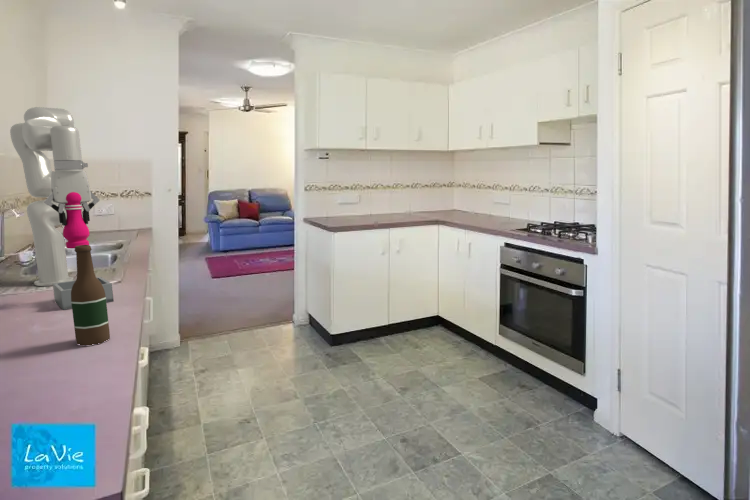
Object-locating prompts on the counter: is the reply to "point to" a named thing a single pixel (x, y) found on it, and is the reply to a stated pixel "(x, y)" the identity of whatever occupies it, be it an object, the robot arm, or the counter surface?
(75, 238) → the pepper mill
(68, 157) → the robot arm
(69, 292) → the bin
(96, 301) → the beer bottle
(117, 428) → the counter surface
